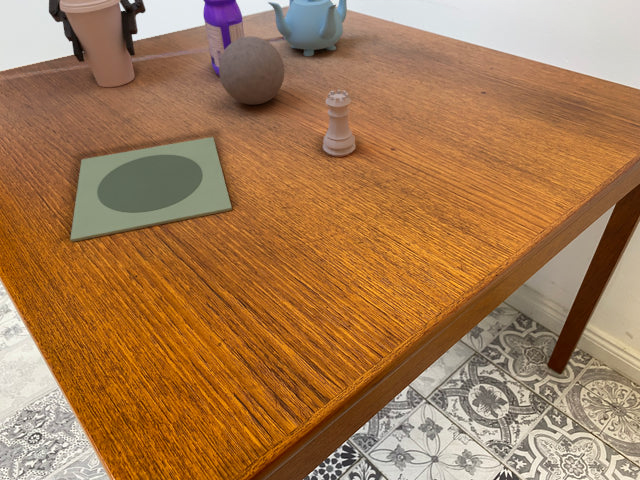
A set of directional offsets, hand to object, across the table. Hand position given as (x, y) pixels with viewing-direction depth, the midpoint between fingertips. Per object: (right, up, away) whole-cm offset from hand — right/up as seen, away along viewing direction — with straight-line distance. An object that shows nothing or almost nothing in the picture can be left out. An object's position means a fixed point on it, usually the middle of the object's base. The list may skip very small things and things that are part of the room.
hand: (105, 54), depth 86 cm
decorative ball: (+26, -9, -3) cm, 27 cm away
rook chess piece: (+38, -19, -16) cm, 46 cm away
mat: (+14, -24, -20) cm, 34 cm away
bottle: (+20, -1, +6) cm, 21 cm away
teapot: (+34, +7, +15) cm, 38 cm away
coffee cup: (-1, -2, +6) cm, 7 cm away
